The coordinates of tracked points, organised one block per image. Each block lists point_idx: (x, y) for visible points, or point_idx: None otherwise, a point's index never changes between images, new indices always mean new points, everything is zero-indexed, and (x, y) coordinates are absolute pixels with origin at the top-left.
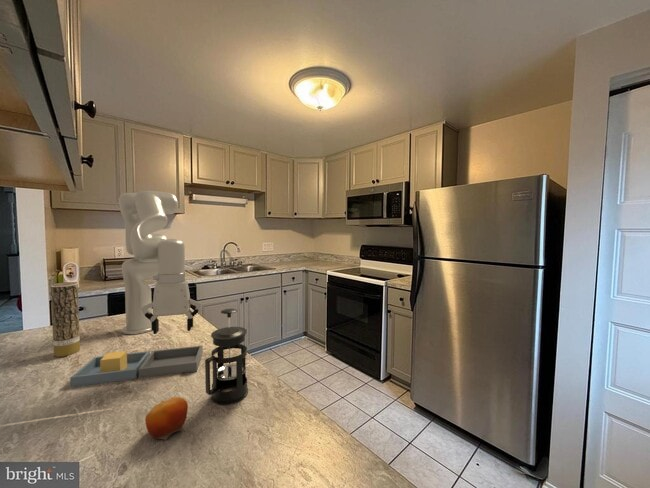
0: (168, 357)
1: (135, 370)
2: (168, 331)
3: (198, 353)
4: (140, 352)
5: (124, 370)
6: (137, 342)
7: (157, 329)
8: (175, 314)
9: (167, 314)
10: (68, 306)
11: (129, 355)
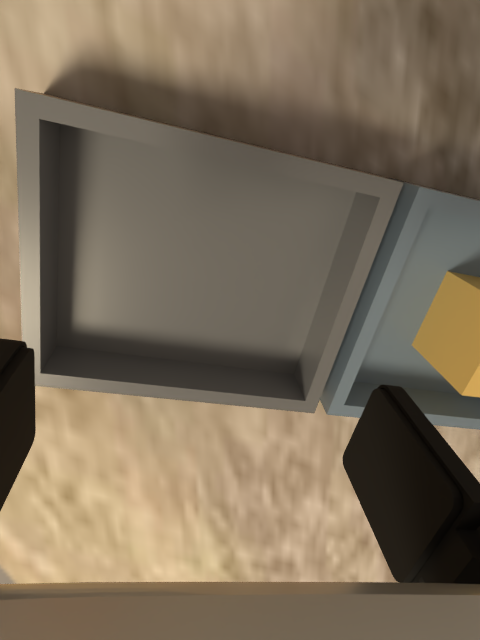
0: (229, 366)
1: (417, 186)
2: None
3: (29, 262)
4: None
5: (471, 208)
6: (349, 553)
7: (368, 446)
8: (152, 591)
9: (368, 609)
10: None
11: None
